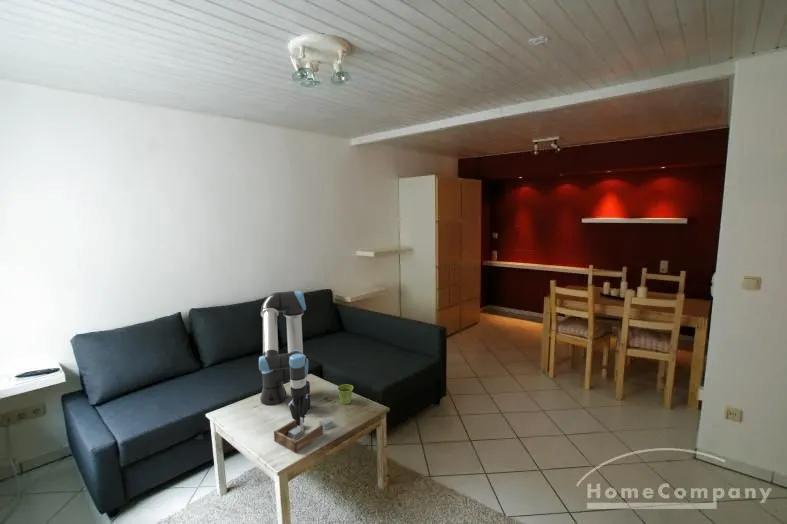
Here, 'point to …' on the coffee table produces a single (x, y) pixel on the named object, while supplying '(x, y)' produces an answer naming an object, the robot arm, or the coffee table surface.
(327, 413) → the coffee table surface
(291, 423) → the frame
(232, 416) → the coffee table surface
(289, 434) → the tile
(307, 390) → the storage jar
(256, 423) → the coffee table surface
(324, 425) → the tile
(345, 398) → the plant pot
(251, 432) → the coffee table surface
